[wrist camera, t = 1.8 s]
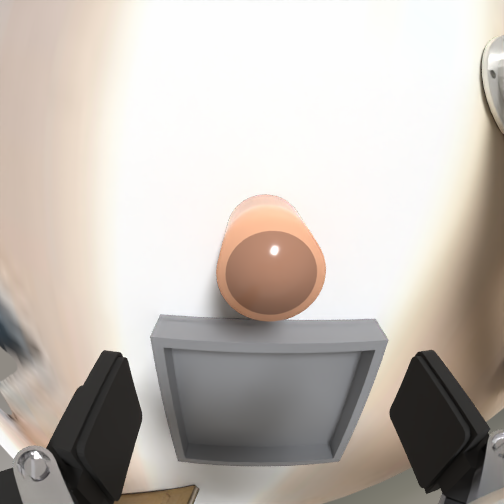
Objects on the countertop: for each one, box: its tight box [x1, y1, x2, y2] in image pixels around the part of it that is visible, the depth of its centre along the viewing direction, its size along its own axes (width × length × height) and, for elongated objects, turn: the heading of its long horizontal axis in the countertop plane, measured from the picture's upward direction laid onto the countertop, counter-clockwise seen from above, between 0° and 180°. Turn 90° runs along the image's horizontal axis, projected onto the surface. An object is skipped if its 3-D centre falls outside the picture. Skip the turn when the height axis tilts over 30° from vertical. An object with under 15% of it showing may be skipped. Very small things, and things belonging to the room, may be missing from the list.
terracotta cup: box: [216, 195, 326, 321], centre depth 21 cm, size 6×6×8 cm
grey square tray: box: [150, 315, 388, 466], centre depth 29 cm, size 20×20×4 cm
